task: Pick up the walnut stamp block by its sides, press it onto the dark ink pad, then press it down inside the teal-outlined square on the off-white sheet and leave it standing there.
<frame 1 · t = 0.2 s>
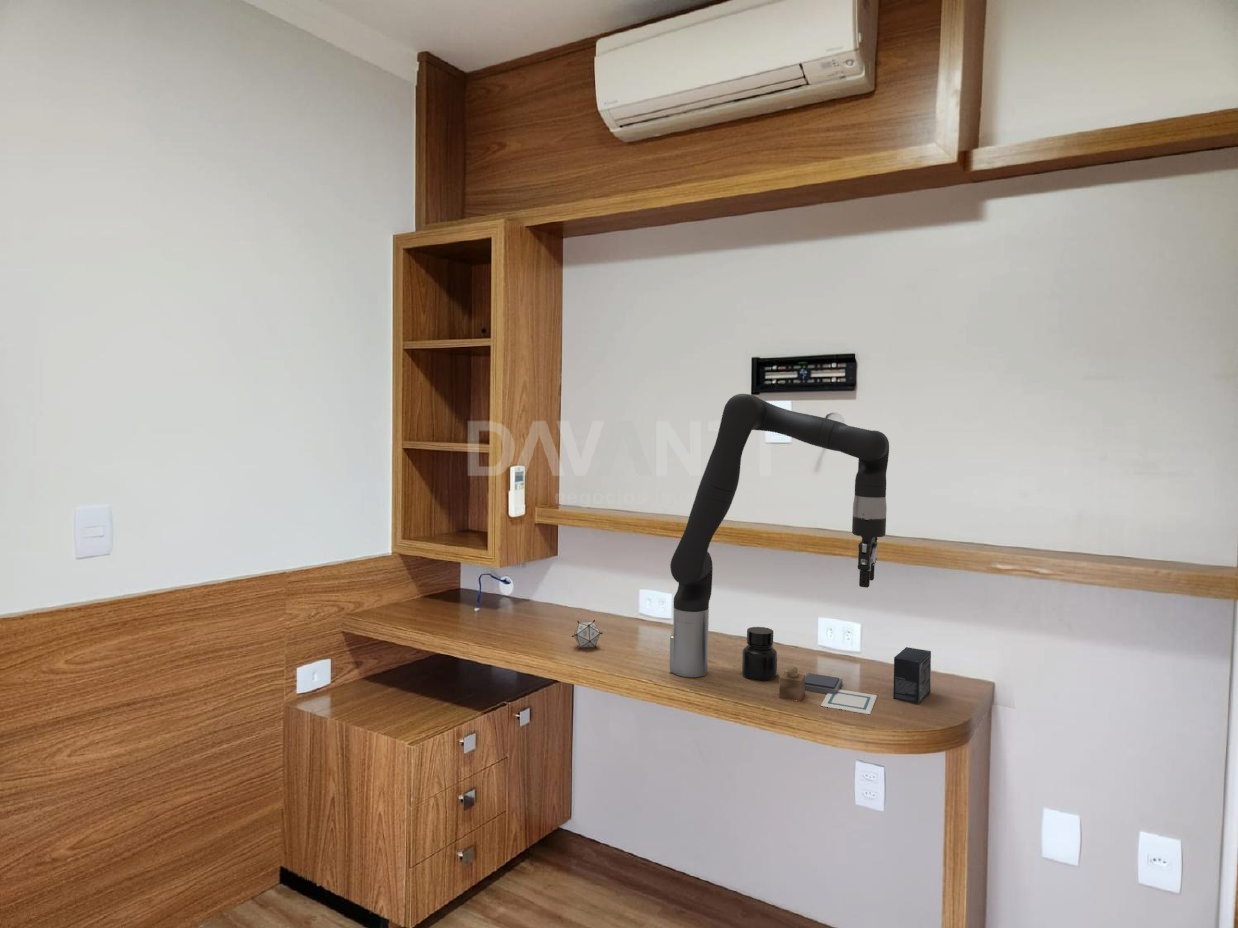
hand: (866, 583, 178), 28 cm above the table, fingers open, 8 cm apart
small box: (911, 696, 183), on the table
ink bottle: (759, 676, 196), on the table
stamp: (791, 696, 182), on the table
ink pad: (820, 686, 188), on the table
game die: (586, 648, 218), on the table
sheet: (849, 701, 179), on the table
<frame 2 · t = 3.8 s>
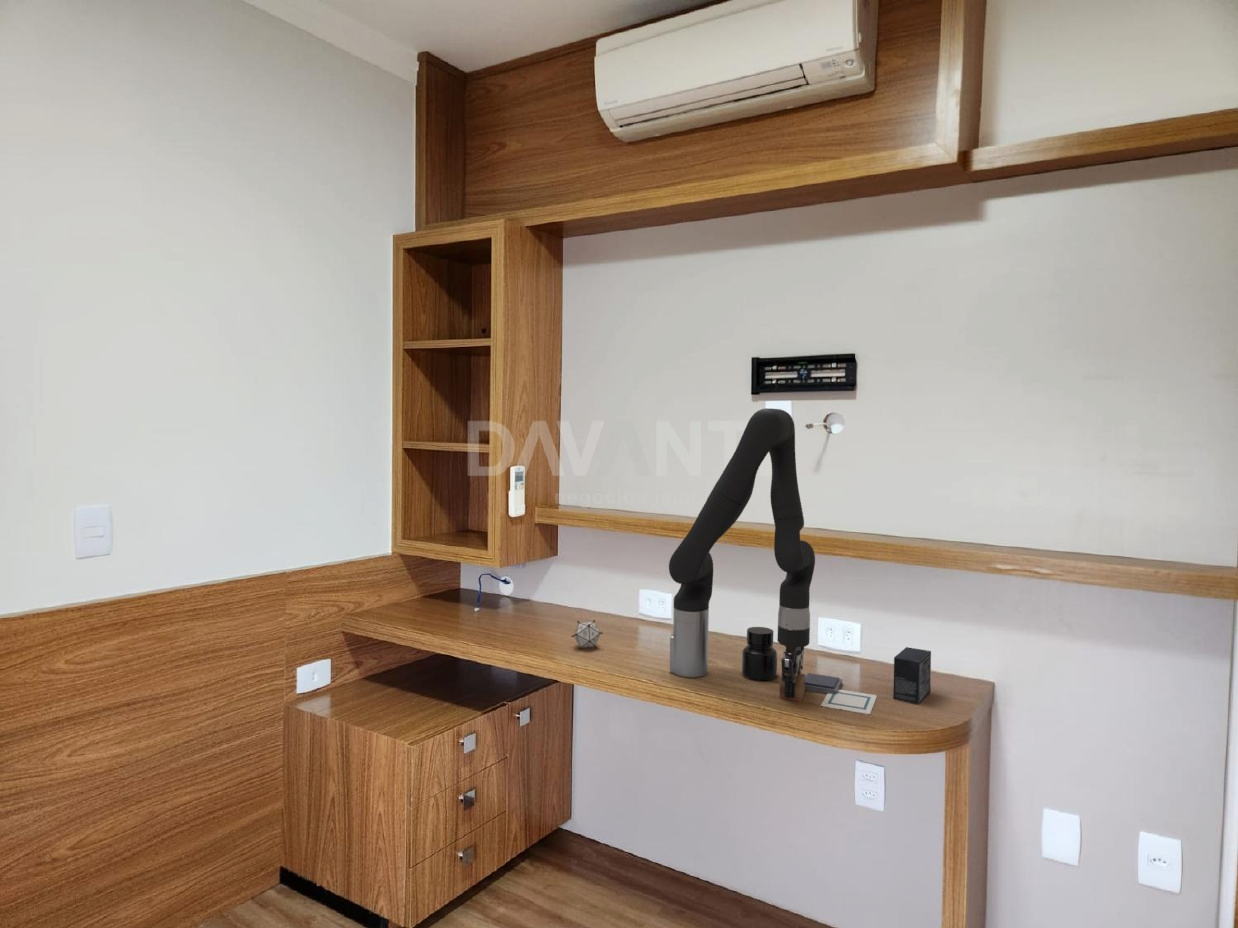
hand: (792, 693, 181), 1 cm above the table, fingers closed on stamp, 5 cm apart
stamp: (792, 696, 182), on the table, touching gripper
everything else where it was.
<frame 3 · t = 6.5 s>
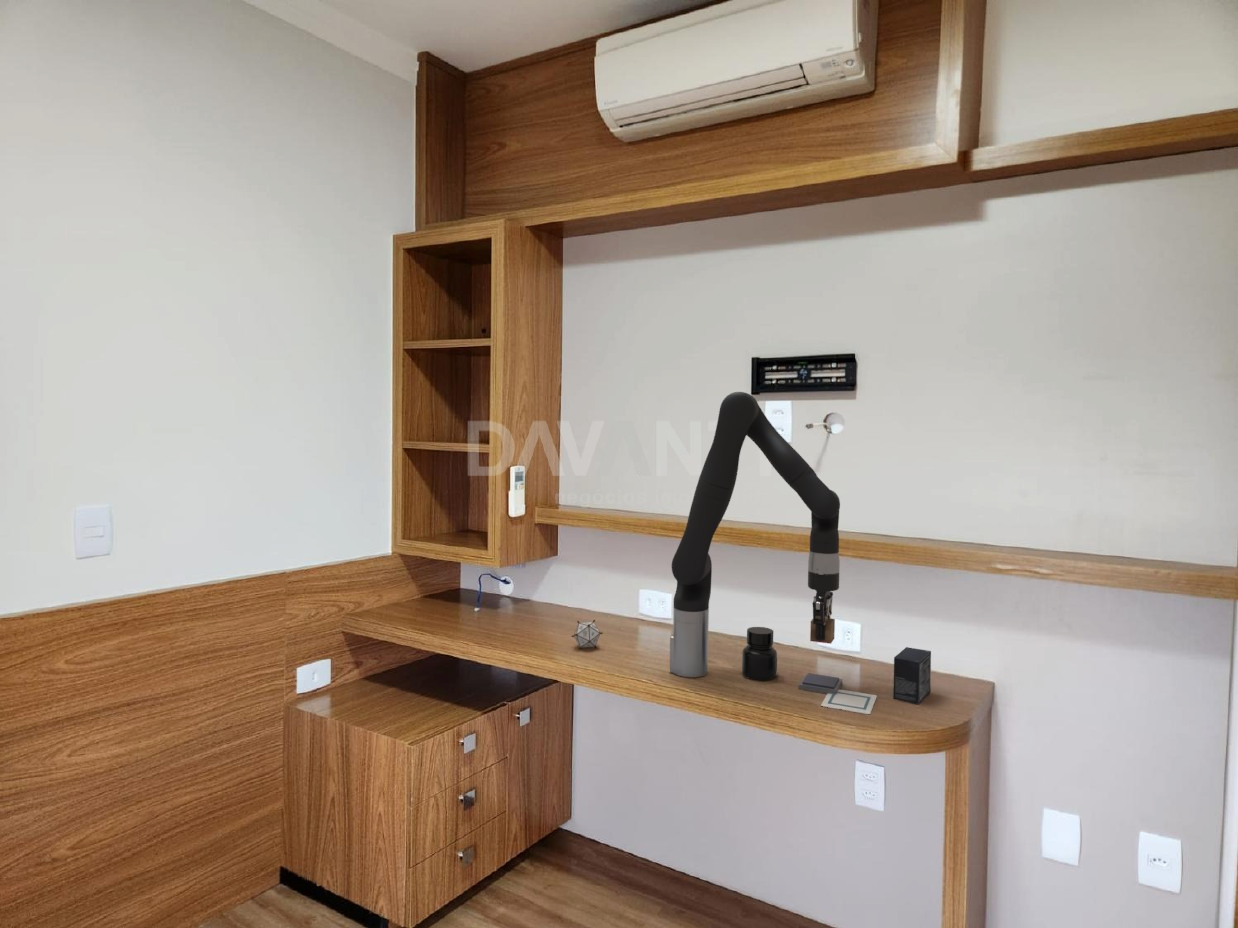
hand: (822, 636, 188), 13 cm above the table, fingers closed on stamp, 5 cm apart
stamp: (822, 639, 188), point 12 cm above the table, touching gripper
everything else where it was.
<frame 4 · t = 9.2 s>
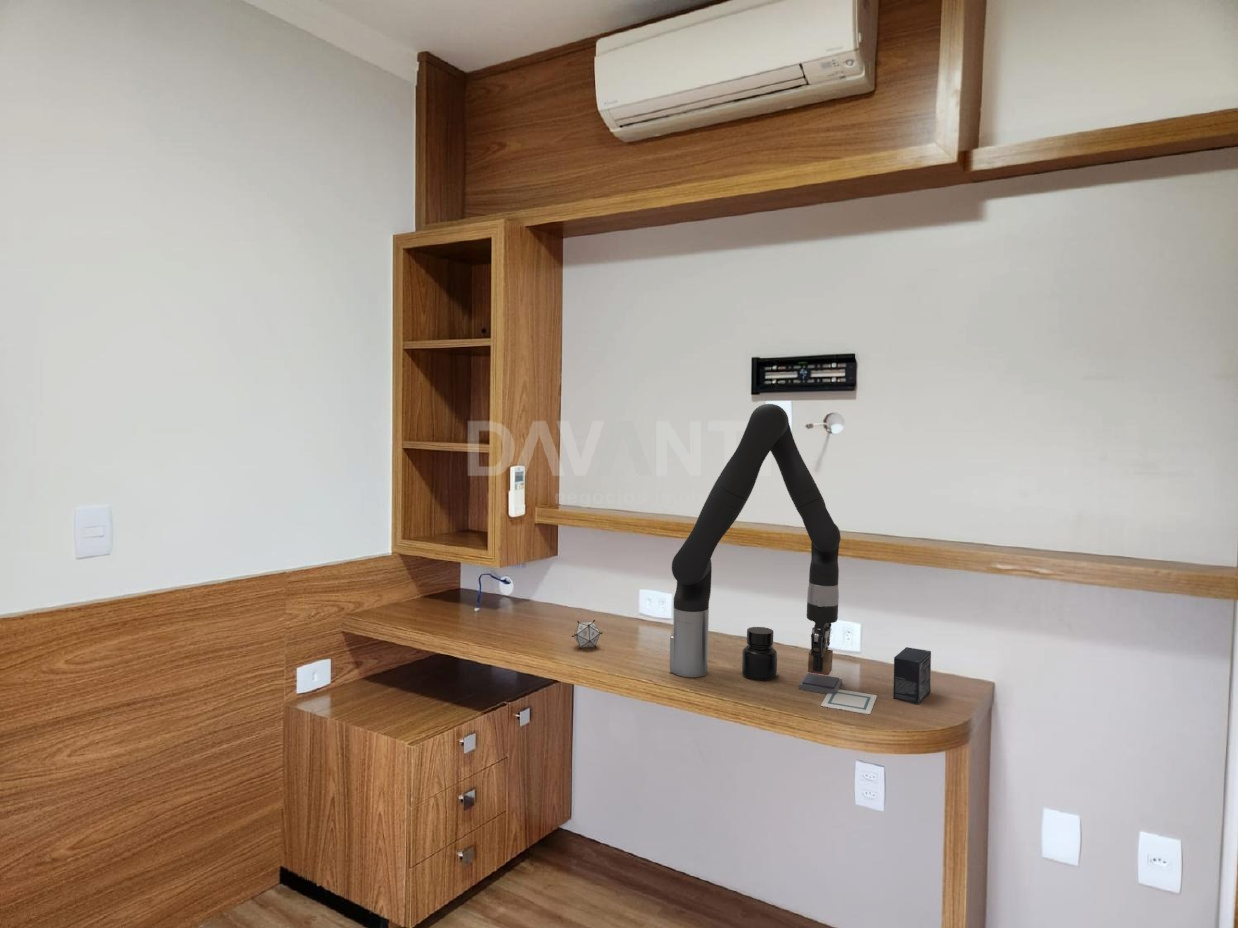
hand: (819, 667, 188), 5 cm above the table, fingers closed on stamp, 5 cm apart
stamp: (819, 670, 188), point 4 cm above the table, touching gripper
everything else where it was.
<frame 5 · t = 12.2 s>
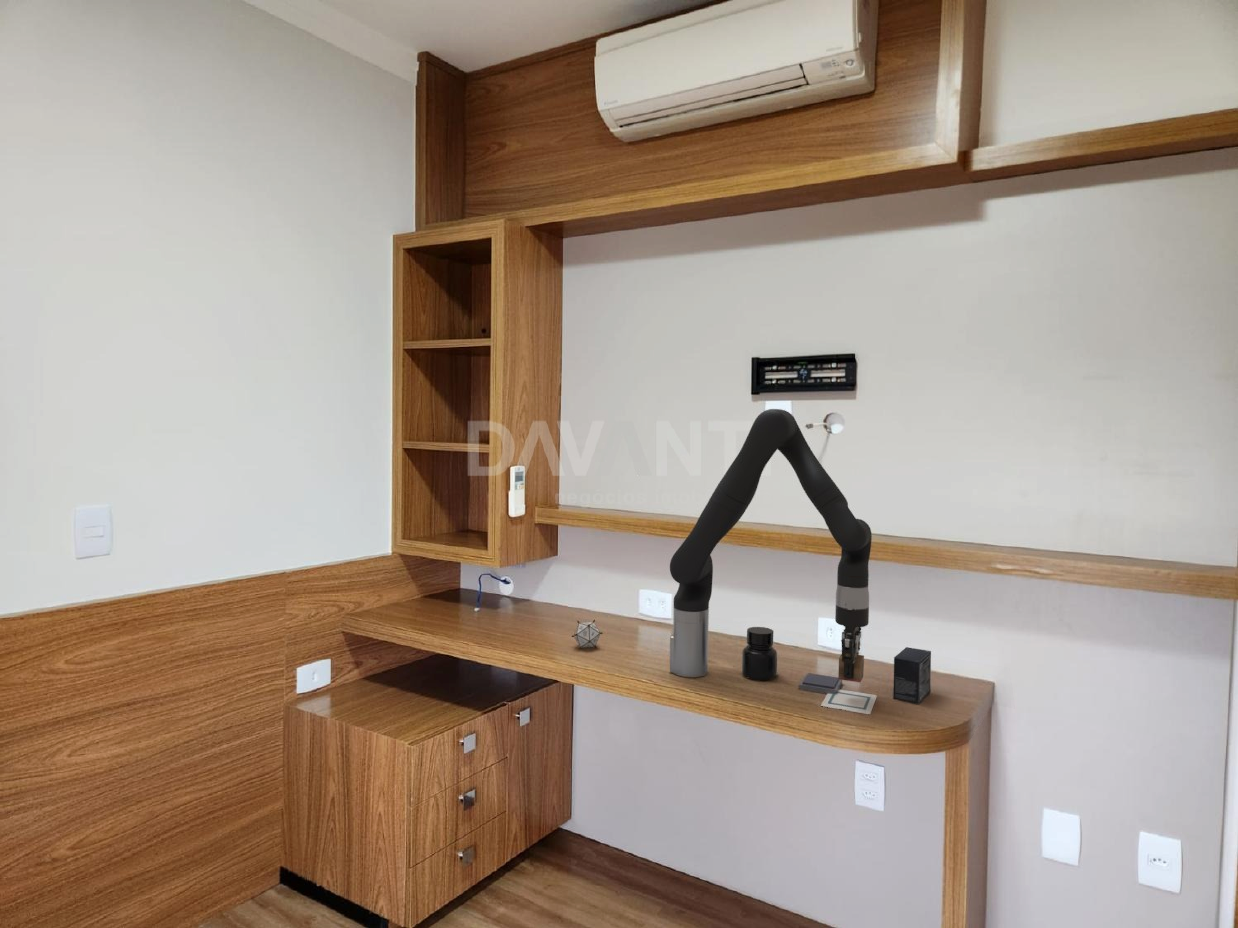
hand: (850, 674, 178), 7 cm above the table, fingers closed on stamp, 5 cm apart
stamp: (850, 677, 178), point 6 cm above the table, touching gripper
everything else where it was.
when the fingers open (1 cm above the table, at t = 14.7 s): stamp stays where it is, resting on sheet.
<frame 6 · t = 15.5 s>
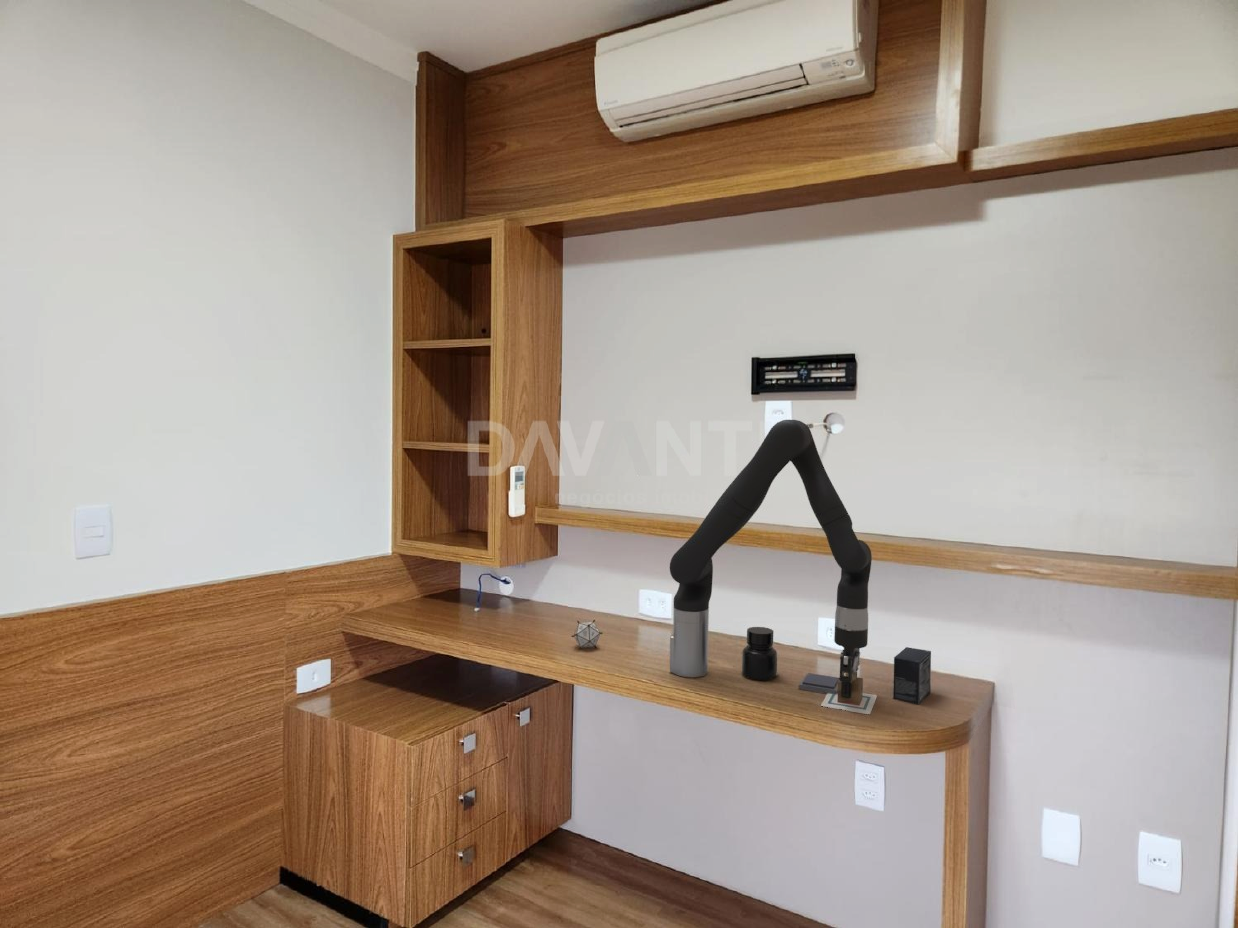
hand: (848, 691, 179), 2 cm above the table, fingers open, 8 cm apart
stamp: (850, 700, 179), resting on sheet
everything else where it was.
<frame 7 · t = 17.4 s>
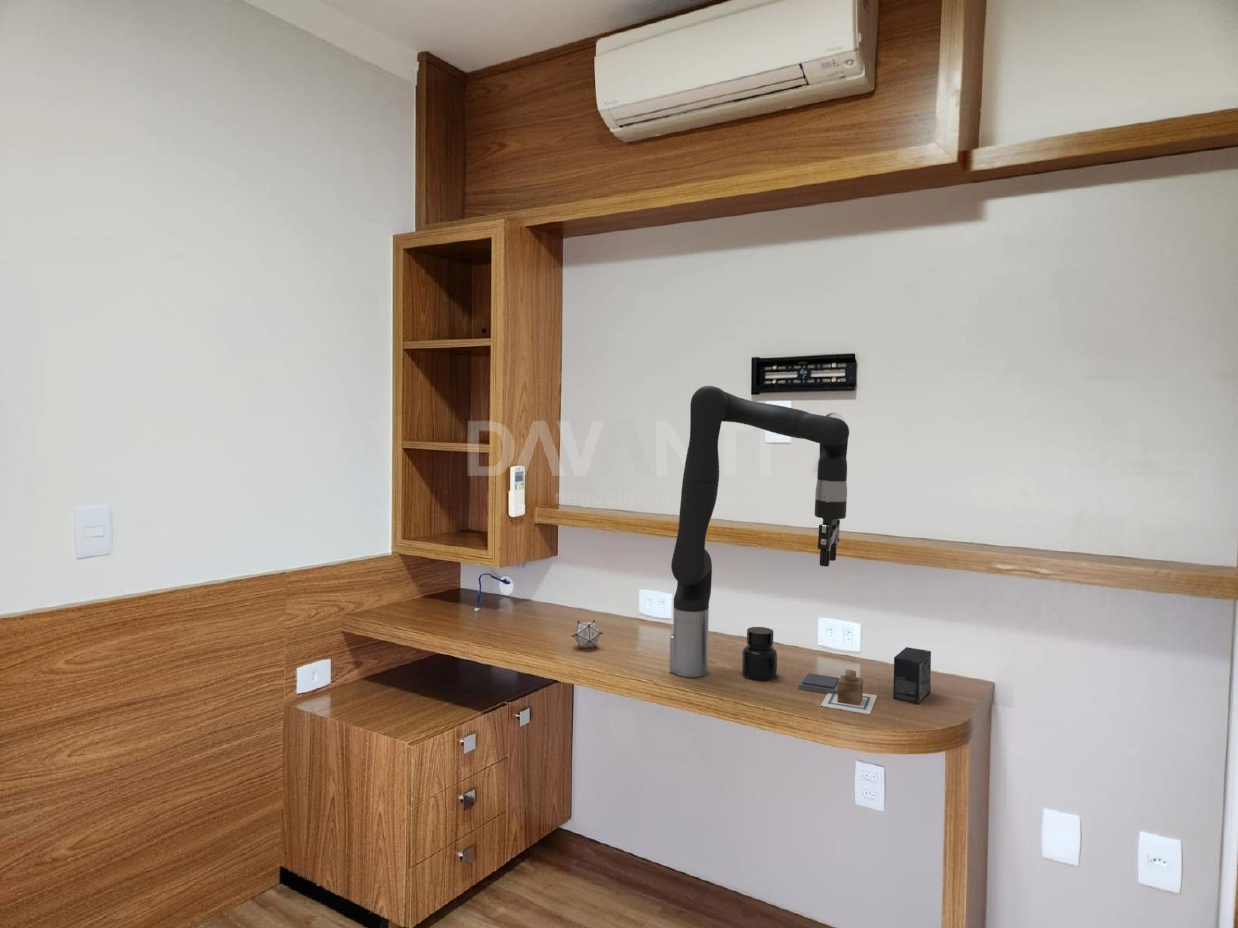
hand: (827, 563, 187), 31 cm above the table, fingers open, 8 cm apart
nothing on the table moved.
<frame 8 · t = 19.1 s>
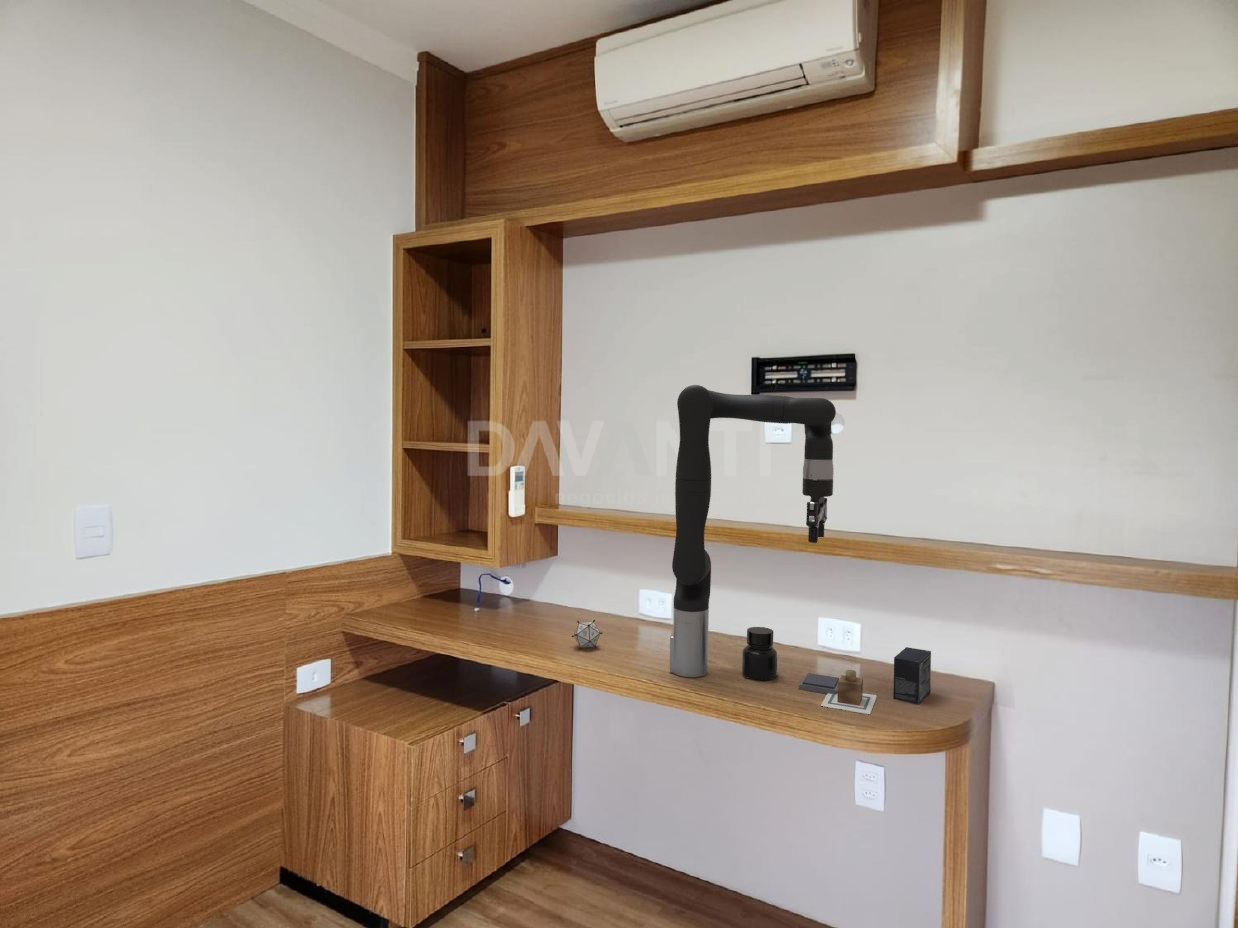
hand: (816, 540, 192), 36 cm above the table, fingers open, 8 cm apart
nothing on the table moved.
at the end: stamp inside the target area on the sheet (0.1 cm from its centre), point 0.2 cm above the sheet's base; stamp tilted 0°; the gripper is holding nothing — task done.
